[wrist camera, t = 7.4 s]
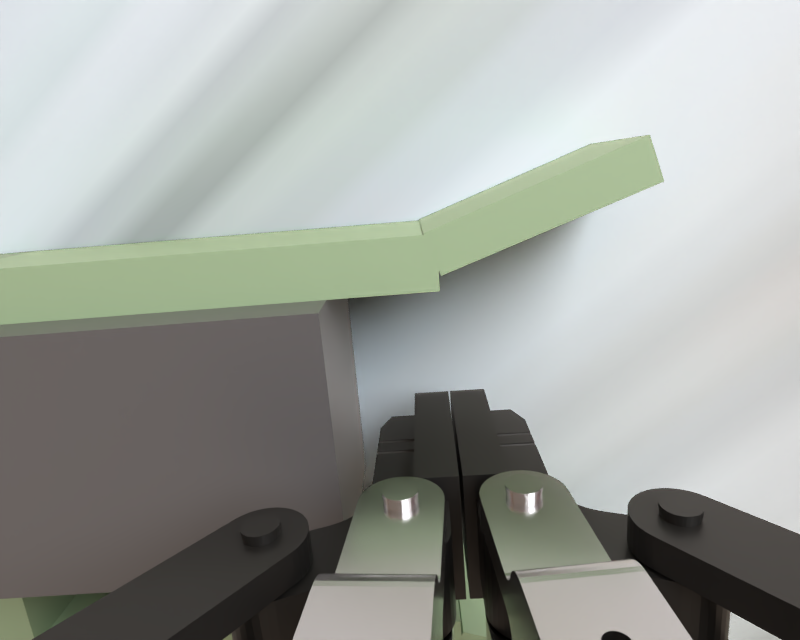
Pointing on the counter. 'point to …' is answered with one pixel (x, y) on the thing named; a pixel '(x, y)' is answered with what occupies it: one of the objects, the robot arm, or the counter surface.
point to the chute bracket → (308, 281)
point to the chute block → (168, 435)
